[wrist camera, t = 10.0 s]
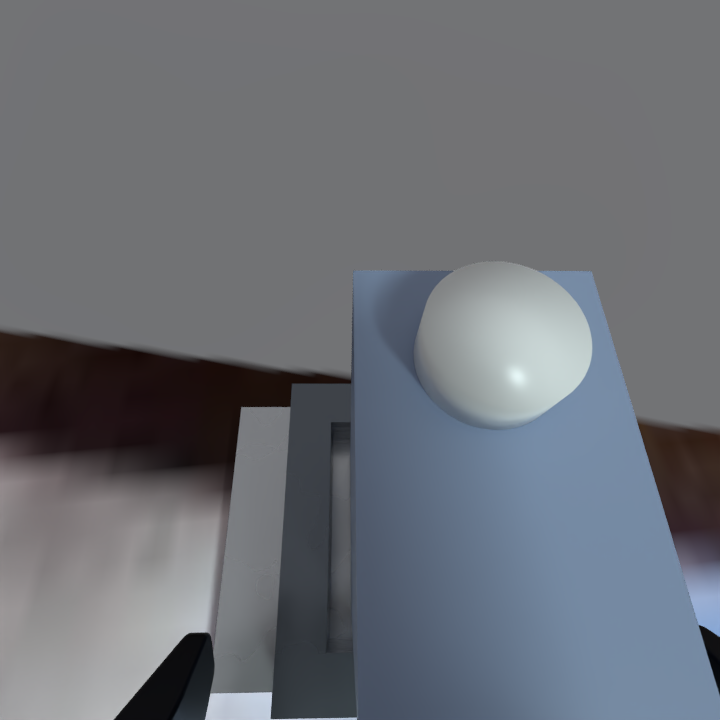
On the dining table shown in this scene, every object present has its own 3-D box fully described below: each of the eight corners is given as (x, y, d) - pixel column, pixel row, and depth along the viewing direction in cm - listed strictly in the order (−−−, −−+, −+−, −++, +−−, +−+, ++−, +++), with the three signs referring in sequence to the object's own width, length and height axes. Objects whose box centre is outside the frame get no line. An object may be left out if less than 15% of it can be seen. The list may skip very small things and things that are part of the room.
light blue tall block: (450, 607, 15) (814, 775, 3) (351, 609, 15) (360, 788, 3) (436, 455, 18) (621, 234, 6) (350, 456, 18) (353, 233, 6)
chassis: (581, 680, 15) (643, 711, 12) (215, 687, 15) (179, 720, 12) (531, 412, 20) (566, 384, 16) (245, 412, 19) (224, 383, 16)
